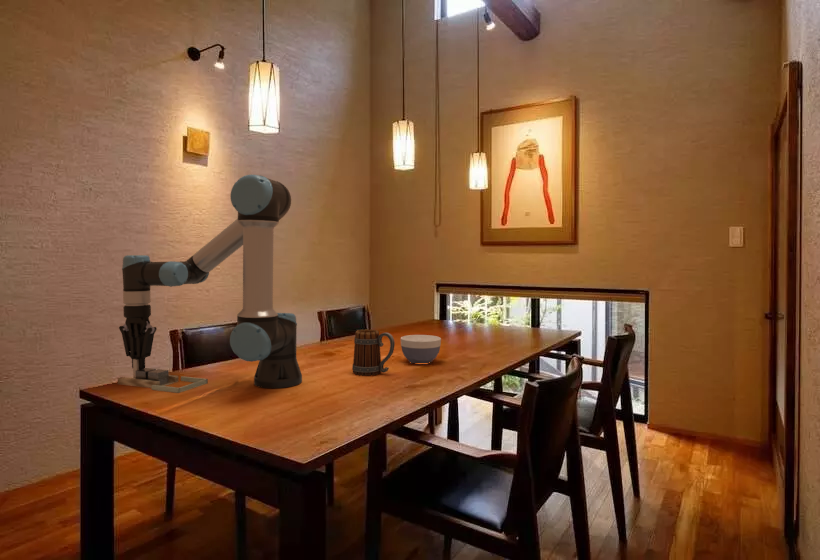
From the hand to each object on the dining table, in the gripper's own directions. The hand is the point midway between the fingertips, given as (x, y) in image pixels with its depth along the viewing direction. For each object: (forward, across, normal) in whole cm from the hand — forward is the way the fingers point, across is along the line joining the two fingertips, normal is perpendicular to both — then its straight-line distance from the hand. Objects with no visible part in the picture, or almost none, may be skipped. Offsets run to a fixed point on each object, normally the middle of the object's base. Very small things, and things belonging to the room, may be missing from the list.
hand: (138, 378), depth 157 cm
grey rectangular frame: (+2, -16, 0) cm, 17 cm away
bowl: (+3, -72, -66) cm, 98 cm away
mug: (+3, -62, -42) cm, 75 cm away
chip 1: (+1, -3, 0) cm, 3 cm away
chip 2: (+1, -8, 0) cm, 8 cm away
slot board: (+2, -4, 0) cm, 5 cm away
